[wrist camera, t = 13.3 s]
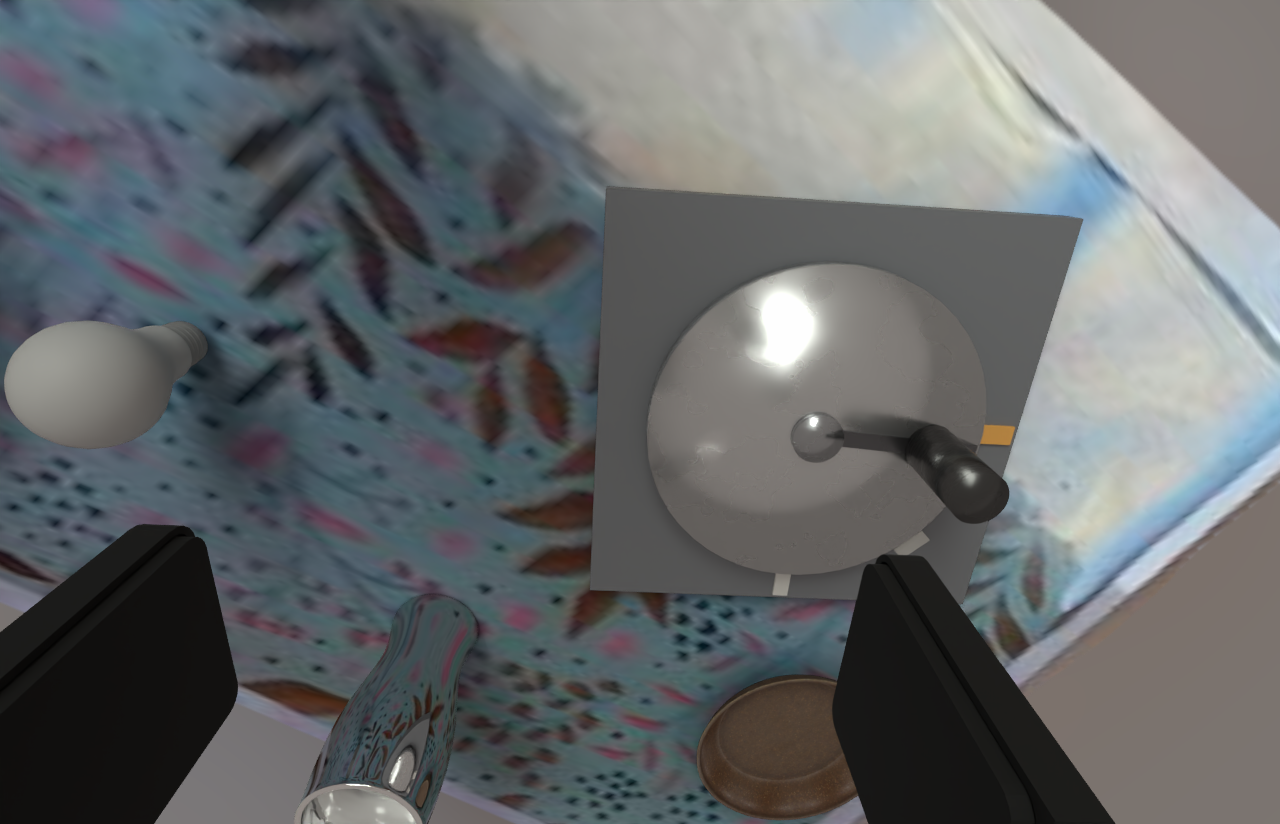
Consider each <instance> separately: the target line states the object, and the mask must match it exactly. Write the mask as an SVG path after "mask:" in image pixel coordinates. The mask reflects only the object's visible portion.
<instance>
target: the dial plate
mask: <svg viewBox="0 0 1280 824" xmlns="http://www.w3.org/2000/svg"><path fill="white" fill-rule="evenodd" d="M1082 222H1083V219H1081V218H1075V217H1070V216H1060V215H1045V214H1029V213H1014V212H998V211H983V210H967V209H952V208H936V207H921V206H905V205H890V204H874V203H859V202H844V201H828V200H813V199H797V198H782V197H766V196H751V195H735V194H720V193H704V192H689V191H673V190H658V189H642V188H627V187H611V186H607V187H606V204H605V229H604V254H603V278H602V303H601V328H600V353H599V377H598V402H597V427H596V452H595V476H594V501H593V526H592V550H591V575H590V590H600V591H627V592H654V593H681V594H708V595H735V596H762V597H788V598H815V599H842V600H857V596H858V591H859V587H860V583H861V579H862V574H863V571H864V568H865V567H866V565H867V564H875V563H876V560H877V558H878V557H877V558H874V559H872V560H869V561H867V562H864V563H862V564H859V565H856V566H852V567H849V568H845V569H842V570H837V571H831V572H826V573H819V574H805V575H792V574H777V573H770V572H763V571H759V570H755V569H751V568H748V567H744V566H741V565H739V564H736V563H734V562H731V561H729V560H726V559H724V558H722V557H720V556H719V555H717V554H715V553H713V552H712V551H710V550H708V549H707V548H705V547H704V546H703V545H701V544H700V543H699V542H697V541H696V540H695V539H693V538H692V537H691V536H690V535H689V534H688V533H687V532H686V531H685V530H684V529H683V528H682V527H681V526H680V525H679V524H678V522H677V521H676V520H675V518H674V517H673V516H672V514H671V513H670V512H669V510H668V509H667V507H666V505H665V503H664V502H663V500H662V498H661V496H660V494H659V492H658V489H657V487H656V484H655V481H654V479H653V476H652V472H651V467H650V463H649V458H648V446H647V432H646V426H647V413H648V406H649V401H650V396H651V392H652V388H653V385H654V383H655V380H656V377H657V374H658V372H659V369H660V367H661V365H662V363H663V361H664V359H665V358H666V356H667V354H668V352H669V350H670V348H671V347H672V346H673V344H674V343H675V341H676V340H677V339H678V337H679V336H680V334H681V333H682V331H683V330H684V329H685V328H686V327H687V326H688V325H689V324H690V323H691V322H692V321H693V319H694V318H695V317H696V316H697V315H698V314H699V313H700V312H702V311H703V310H704V309H705V308H706V307H707V306H709V305H710V304H711V303H712V302H713V301H715V300H716V299H717V298H719V297H720V296H722V295H723V294H725V293H726V292H728V291H729V290H731V289H732V288H734V287H736V286H737V285H739V284H741V283H744V282H746V281H748V280H750V279H752V278H754V277H756V276H758V275H761V274H764V273H767V272H769V271H772V270H775V269H778V268H781V267H786V266H791V265H796V264H801V263H808V262H821V261H837V262H852V263H857V264H862V265H867V266H872V267H876V268H879V269H882V270H885V271H887V272H890V273H893V274H896V275H898V276H900V277H902V278H904V279H906V280H907V281H909V282H911V283H913V284H915V285H917V286H919V287H921V288H923V289H924V290H926V291H927V292H928V293H930V294H931V295H932V296H934V297H935V298H936V299H938V300H939V301H940V302H942V303H943V304H944V305H945V306H946V308H947V309H948V310H949V311H950V312H951V313H952V314H953V315H954V316H955V317H956V318H957V319H958V321H959V322H960V324H961V325H962V326H963V328H964V329H965V331H966V332H967V333H968V335H969V337H970V339H971V341H972V343H973V345H974V347H975V349H976V351H977V353H978V357H979V360H980V363H981V367H982V370H983V373H984V380H985V387H986V418H985V424H984V431H983V436H982V439H981V442H980V446H979V449H978V453H977V456H978V457H979V458H980V459H981V460H982V461H984V462H985V463H986V464H987V465H988V466H989V467H990V468H991V469H992V470H993V471H995V472H996V473H997V474H998V475H999V476H1000V477H1001V478H1002V477H1003V474H1004V470H1005V467H1006V464H1007V461H1008V458H1009V454H1010V451H1011V448H1012V445H1013V442H1014V438H1015V435H1016V432H1017V429H1018V426H1019V423H1020V419H1021V416H1022V413H1023V410H1024V407H1025V403H1026V400H1027V397H1028V394H1029V391H1030V387H1031V384H1032V381H1033V378H1034V375H1035V372H1036V368H1037V365H1038V362H1039V359H1040V356H1041V352H1042V349H1043V346H1044V343H1045V340H1046V337H1047V333H1048V330H1049V327H1050V324H1051V321H1052V317H1053V314H1054V311H1055V308H1056V305H1057V301H1058V298H1059V295H1060V292H1061V289H1062V286H1063V282H1064V279H1065V276H1066V273H1067V270H1068V266H1069V263H1070V260H1071V257H1072V254H1073V250H1074V247H1075V244H1076V241H1077V238H1078V235H1079V231H1080V228H1081V225H1082ZM987 524H988V521H986V522H983V523H979V524H969V523H965V522H962V521H960V520H958V519H957V518H956V517H955V516H954V515H953V514H952V512H951V511H950V510H949V509H948V508H947V507H945V508H944V509H943V510H942V511H941V512H940V513H939V514H938V515H937V516H936V517H935V518H934V519H933V520H932V521H931V522H930V523H929V524H928V525H927V526H925V527H924V528H923V529H922V530H921V531H919V532H918V533H917V534H916V535H915V536H913V537H912V538H910V539H909V540H907V541H906V542H904V543H903V544H901V545H900V546H898V547H896V548H894V549H893V550H891V551H889V552H887V553H885V554H892V555H917V556H922V557H924V558H925V559H926V560H927V561H928V562H929V564H930V565H931V567H932V568H933V569H934V571H935V572H936V574H937V575H938V576H939V578H940V579H941V581H942V582H943V583H944V585H945V586H946V588H947V589H948V590H949V592H950V593H951V595H952V596H953V597H954V599H955V600H956V602H957V603H958V604H963V601H964V598H965V595H966V591H967V588H968V585H969V582H970V579H971V575H972V572H973V569H974V566H975V563H976V560H977V556H978V553H979V550H980V547H981V544H982V540H983V537H984V534H985V531H986V528H987Z"/></svg>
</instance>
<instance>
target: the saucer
mask: <svg viewBox="0 0 1280 824" xmlns="http://www.w3.org/2000/svg"><path fill="white" fill-rule="evenodd" d="M836 685H837V681H835V680H832V679H828V678H824V677H819V676H812V675H785V676H778V677H773V678H770V679H766V680H763V681H760V682H758V683H755V684H753V685H751V686H749V687H747V688H745V689H743V690H742V691H740V692H739V693H737V694H736V695H734V696H733V697H732V698H730V699H729V700H728V701H727V702H726V703H725V704H724V705H723V706H722V707H721V708H720V709H719V710H718V711H717V712H716V713H715V715H714V716H713V717H712V719H711V720H710V722H709V723H708V725H707V727H706V728H705V730H704V732H703V734H702V736H701V739H700V741H699V745H698V749H697V768H698V772H699V775H700V778H701V780H702V782H703V784H704V786H705V787H706V789H707V790H708V791H709V792H710V794H711V795H712V796H713V797H714V798H715V799H716V800H718V801H719V802H720V803H722V804H723V805H725V806H726V807H728V808H730V809H732V810H734V811H736V812H739V813H741V814H744V815H747V816H751V817H755V818H760V819H768V820H792V819H800V818H807V817H811V816H815V815H818V814H822V813H825V812H828V811H830V810H833V809H835V808H837V807H840V806H841V805H843V804H845V803H847V802H849V801H850V800H852V799H853V798H855V797H856V796H858V793H857V790H856V787H855V784H854V781H853V779H852V776H851V773H850V770H849V767H848V765H847V762H846V759H845V756H844V753H843V750H842V748H841V745H840V742H839V739H838V736H837V734H836V731H835V727H834V723H833V717H832V703H833V697H834V693H835V689H836Z"/></svg>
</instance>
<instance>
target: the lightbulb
mask: <svg viewBox="0 0 1280 824" xmlns="http://www.w3.org/2000/svg"><path fill="white" fill-rule="evenodd" d="M207 350H208V344H207V340H206V338H205V336H204V334H203V333H202V332H201V331H200V330H199V329H198V328H197V327H196V326H194V325H192V324H190V323H187V322H183V321H176V322H172V323H168V324H165V325H162V326H147V327H143V328H140V329H133V330H131V329H128V328H124V327H121V326H117V325H113V324H109V323H104V322H97V321H77V322H65V323H62V324H58V325H55V326H51V327H48V328H45V329H43V330H42V331H40V332H38V333H36V334H35V335H33V336H32V337H30V338H28V339H27V340H26V341H25V342H24V343H23V344H22V345H21V346H20V347H19V348H18V349H17V350H16V351H15V352H14V353H13V355H12V357H11V359H10V361H9V363H8V366H7V369H6V373H5V378H4V383H5V394H6V398H7V402H8V404H9V406H10V408H11V410H12V411H13V413H14V414H15V416H16V417H17V418H18V419H19V421H20V422H21V423H22V424H23V425H24V426H26V427H27V428H28V429H29V430H31V431H32V432H33V433H35V434H37V435H38V436H40V437H42V438H44V439H47V440H49V441H52V442H54V443H57V444H60V445H64V446H68V447H74V448H83V449H97V448H106V447H112V446H116V445H119V444H123V443H126V442H129V441H131V440H133V439H135V438H137V437H139V436H141V435H142V434H144V433H145V432H147V431H148V430H149V429H150V428H151V427H153V426H154V425H155V424H156V422H157V421H158V420H159V419H160V418H161V416H162V415H163V413H164V412H165V410H166V407H167V404H168V401H169V398H170V395H171V392H172V385H173V384H174V383H175V381H176V380H178V379H179V378H181V377H182V376H184V375H185V374H186V373H187V371H188V370H189V368H190V367H191V366H193V365H194V364H196V363H197V362H198V361H200V360H201V359H203V358H204V357H205V355H206V353H207Z"/></svg>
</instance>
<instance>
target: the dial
mask: <svg viewBox="0 0 1280 824" xmlns="http://www.w3.org/2000/svg"><path fill="white" fill-rule="evenodd" d="M985 418H986V387H985V380H984V373H983V370H982V367H981V363H980V360H979V357H978V353H977V351H976V349H975V347H974V345H973V343H972V341H971V339H970V337H969V335H968V333H967V332H966V331H965V329H964V328H963V326H962V325H961V324H960V322H959V321H958V319H957V318H956V317H955V316H954V315H953V314H952V313H951V312H950V311H949V310H948V309H947V308H946V306H945V305H944V304H943V303H942V302H940V301H939V300H938V299H936V298H935V297H934V296H932V295H931V294H930V293H928V292H927V291H926V290H924V289H923V288H921V287H919V286H917V285H915V284H913V283H911V282H909V281H907V280H906V279H904V278H902V277H900V276H898V275H896V274H893V273H890V272H887V271H885V270H882V269H879V268H876V267H872V266H867V265H862V264H857V263H852V262H837V261H821V262H808V263H801V264H796V265H791V266H786V267H781V268H778V269H775V270H772V271H769V272H767V273H764V274H761V275H758V276H756V277H754V278H752V279H750V280H748V281H746V282H744V283H741V284H739V285H737V286H736V287H734V288H732V289H731V290H729V291H728V292H726V293H725V294H723V295H722V296H720V297H719V298H717V299H716V300H715V301H713V302H712V303H711V304H710V305H709V306H707V307H706V308H705V309H704V310H703V311H702V312H700V313H699V314H698V315H697V316H696V317H695V318H694V319H693V321H692V322H691V323H690V324H689V325H688V326H687V327H686V328H685V329H684V330H683V331H682V333H681V334H680V336H679V337H678V339H677V340H676V341H675V343H674V344H673V346H672V347H671V348H670V350H669V352H668V354H667V356H666V358H665V359H664V361H663V363H662V365H661V367H660V369H659V372H658V374H657V377H656V380H655V383H654V385H653V388H652V392H651V396H650V401H649V406H648V413H647V426H646V432H647V446H648V458H649V463H650V467H651V472H652V476H653V479H654V481H655V484H656V487H657V489H658V492H659V494H660V496H661V498H662V500H663V502H664V503H665V505H666V507H667V509H668V510H669V512H670V513H671V514H672V516H673V517H674V518H675V520H676V521H677V522H678V524H679V525H680V526H681V527H682V528H683V529H684V530H685V531H686V532H687V533H688V534H689V535H690V536H691V537H692V538H693V539H695V540H696V541H697V542H699V543H700V544H701V545H703V546H704V547H705V548H707V549H708V550H710V551H712V552H713V553H715V554H717V555H719V556H720V557H722V558H724V559H726V560H729V561H731V562H734V563H736V564H739V565H741V566H744V567H748V568H751V569H755V570H759V571H763V572H770V573H777V574H792V575H805V574H819V573H826V572H831V571H837V570H842V569H845V568H849V567H852V566H856V565H859V564H862V563H864V562H867V561H869V560H872V559H874V558H877V557H879V556H880V555H882V554H885V553H887V552H889V551H891V550H893V549H894V548H896V547H898V546H900V545H901V544H903V543H904V542H906V541H907V540H909V539H910V538H912V537H913V536H915V535H916V534H917V533H918V532H919V531H921V530H922V529H923V528H924V527H925V526H927V525H928V524H929V523H930V522H931V521H932V520H933V519H934V518H935V517H936V516H937V515H938V514H939V513H940V512H941V511H942V510H943V509H944V508H945V507H947V508H948V509H949V510H950V511H951V512H952V514H953V515H954V516H955V517H956V518H957V519H958V520H960V521H962V522H965V523H969V524H979V523H983V522H986V521H989V520H991V519H993V518H994V517H996V516H997V515H998V514H999V513H1000V512H1001V511H1002V510H1003V509H1004V507H1005V506H1006V504H1007V502H1008V499H1009V488H1008V485H1007V483H1006V482H1005V481H1004V480H1003V479H1002V478H1001V477H1000V476H999V475H998V474H997V473H996V472H995V471H993V470H992V469H991V468H990V467H989V466H988V465H987V464H986V463H985V462H984V461H982V460H981V459H980V458H979V457H978V456H977V453H978V449H979V446H980V442H981V439H982V436H983V431H984V424H985Z"/></svg>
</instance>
